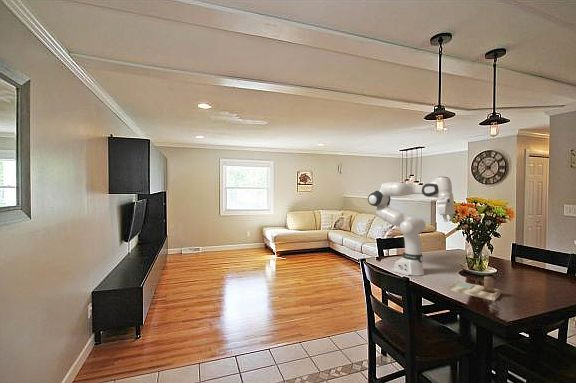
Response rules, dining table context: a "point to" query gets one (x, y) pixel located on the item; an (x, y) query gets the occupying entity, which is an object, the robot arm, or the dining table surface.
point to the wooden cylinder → (489, 284)
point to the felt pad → (464, 285)
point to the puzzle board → (476, 291)
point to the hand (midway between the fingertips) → (448, 221)
